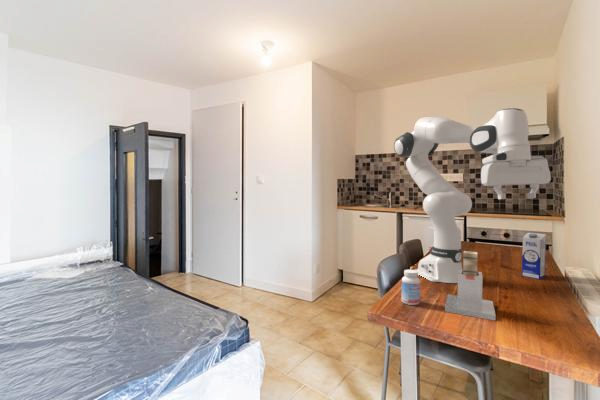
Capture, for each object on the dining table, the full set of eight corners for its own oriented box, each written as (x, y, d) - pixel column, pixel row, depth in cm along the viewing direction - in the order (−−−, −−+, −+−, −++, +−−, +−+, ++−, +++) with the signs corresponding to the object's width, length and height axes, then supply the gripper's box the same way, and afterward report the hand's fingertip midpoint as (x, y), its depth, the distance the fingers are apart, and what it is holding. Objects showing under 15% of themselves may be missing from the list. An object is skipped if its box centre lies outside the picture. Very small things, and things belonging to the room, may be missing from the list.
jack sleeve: (444, 311, 99) (445, 275, 98) (447, 298, 111) (448, 266, 111) (495, 320, 92) (496, 281, 92) (492, 305, 104) (493, 271, 104)
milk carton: (545, 277, 138) (546, 233, 137) (539, 279, 134) (541, 235, 134) (527, 273, 144) (528, 232, 143) (521, 275, 140) (522, 233, 139)
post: (462, 303, 101) (463, 253, 100) (462, 299, 104) (463, 250, 104) (476, 305, 99) (477, 254, 98) (476, 301, 102) (477, 252, 102)
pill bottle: (411, 306, 103) (411, 274, 102) (397, 301, 108) (398, 270, 108) (423, 303, 105) (423, 272, 105) (409, 298, 111) (410, 268, 111)
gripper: (539, 157, 101) (542, 198, 100) (477, 159, 102) (479, 200, 102) (554, 153, 95) (557, 197, 94) (487, 156, 96) (490, 199, 95)
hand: (516, 198), depth 98 cm, fingers open, 8 cm apart
